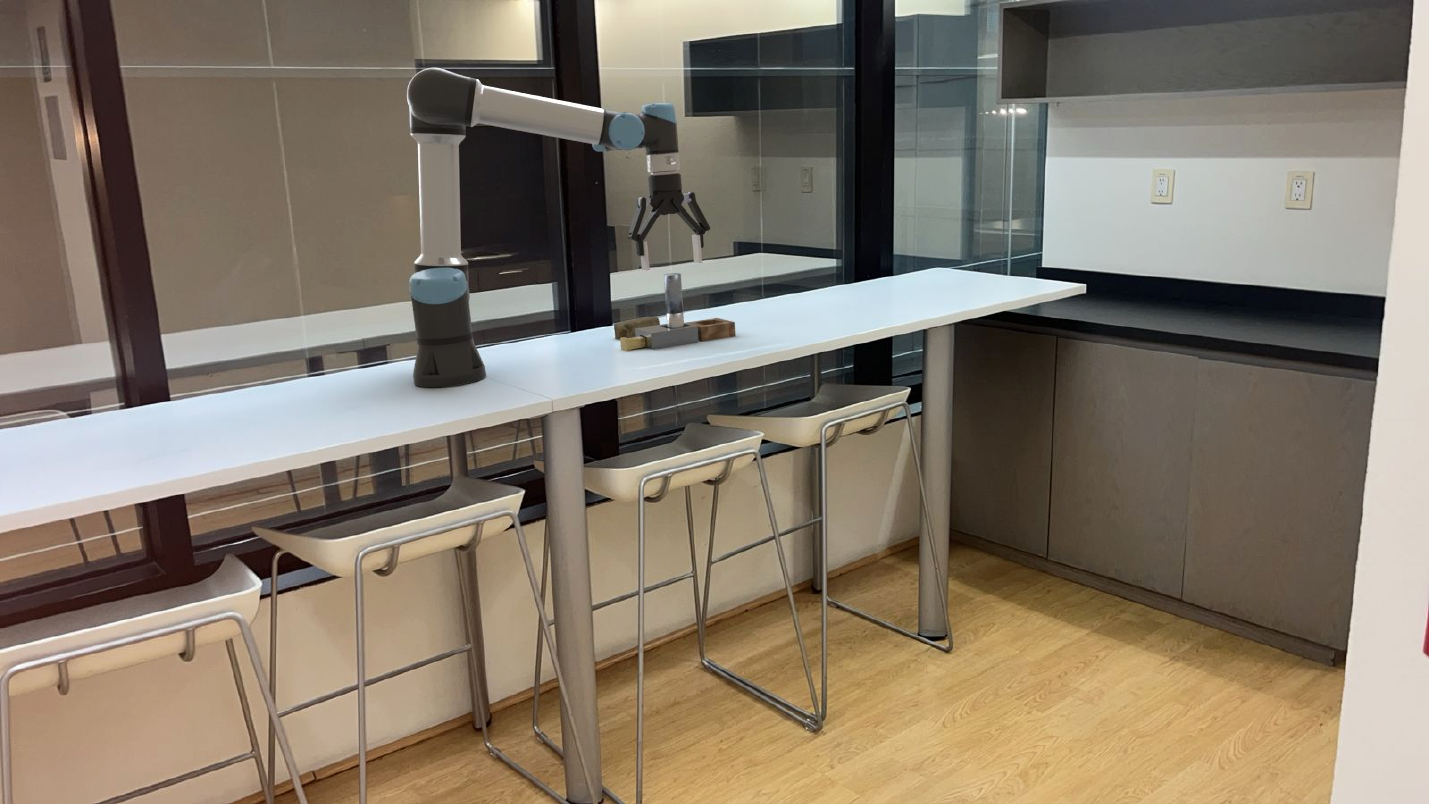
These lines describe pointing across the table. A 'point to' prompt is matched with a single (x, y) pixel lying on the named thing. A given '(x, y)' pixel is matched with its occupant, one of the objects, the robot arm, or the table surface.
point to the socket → (668, 335)
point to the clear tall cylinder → (674, 300)
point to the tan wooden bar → (633, 343)
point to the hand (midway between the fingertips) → (672, 266)
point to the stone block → (633, 326)
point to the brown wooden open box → (714, 329)
